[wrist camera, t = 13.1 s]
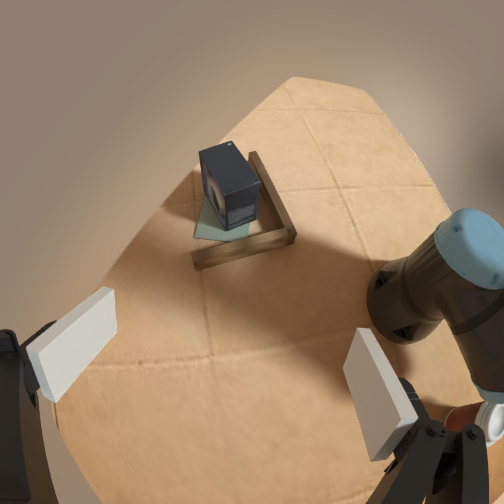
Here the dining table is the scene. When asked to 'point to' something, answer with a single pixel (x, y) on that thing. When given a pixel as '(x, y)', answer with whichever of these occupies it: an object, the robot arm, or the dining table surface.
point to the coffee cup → (478, 419)
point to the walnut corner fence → (258, 242)
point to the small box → (230, 184)
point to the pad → (216, 226)
